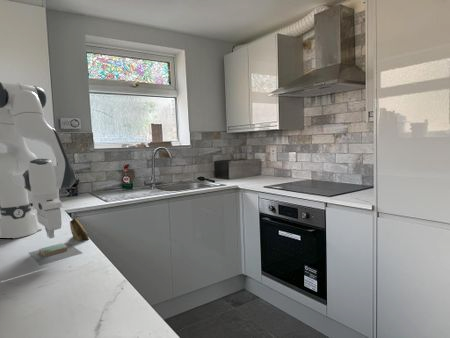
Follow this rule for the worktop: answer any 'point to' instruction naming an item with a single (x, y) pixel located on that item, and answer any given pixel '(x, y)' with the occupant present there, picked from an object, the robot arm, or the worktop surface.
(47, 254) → the coaster
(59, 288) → the worktop surface
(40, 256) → the mat
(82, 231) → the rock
